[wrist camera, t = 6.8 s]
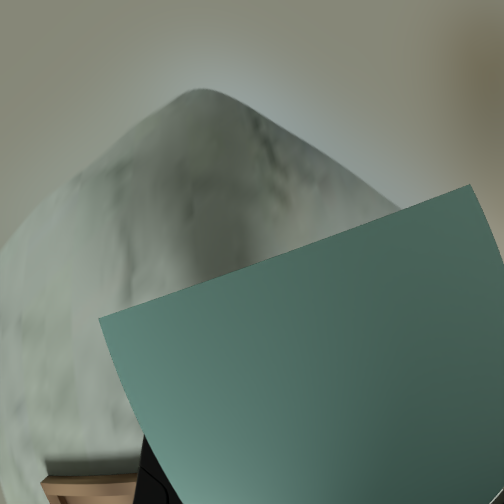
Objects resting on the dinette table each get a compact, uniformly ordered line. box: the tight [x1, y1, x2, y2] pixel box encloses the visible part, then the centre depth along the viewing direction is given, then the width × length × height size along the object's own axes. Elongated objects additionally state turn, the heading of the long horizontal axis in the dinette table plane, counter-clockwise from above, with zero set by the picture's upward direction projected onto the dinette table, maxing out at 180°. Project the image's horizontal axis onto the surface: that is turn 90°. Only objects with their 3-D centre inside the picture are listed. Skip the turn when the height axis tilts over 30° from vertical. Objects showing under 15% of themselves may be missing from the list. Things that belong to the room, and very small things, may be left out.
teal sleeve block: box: [99, 184, 504, 504], centre depth 8 cm, size 4×4×13 cm
